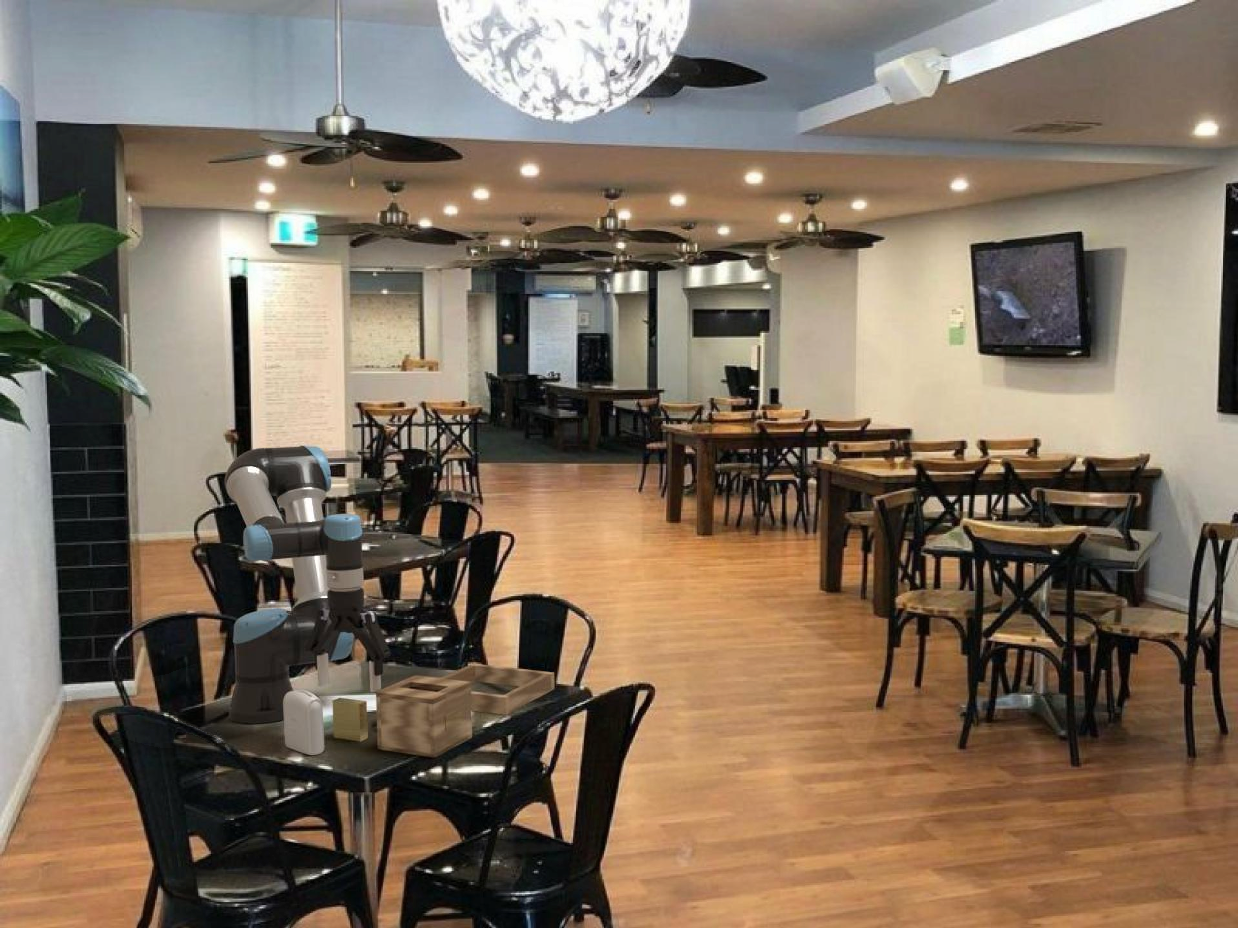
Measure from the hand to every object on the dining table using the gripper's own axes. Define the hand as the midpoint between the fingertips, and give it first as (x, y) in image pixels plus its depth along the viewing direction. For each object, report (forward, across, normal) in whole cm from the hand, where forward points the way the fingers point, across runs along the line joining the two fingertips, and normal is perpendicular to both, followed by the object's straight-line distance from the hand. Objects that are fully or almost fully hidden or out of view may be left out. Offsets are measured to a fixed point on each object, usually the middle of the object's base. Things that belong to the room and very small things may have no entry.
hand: (349, 687), depth 252 cm
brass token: (+11, 0, 0) cm, 11 cm away
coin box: (+11, +16, +3) cm, 20 cm away
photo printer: (+11, -4, -10) cm, 15 cm away
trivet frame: (+11, +11, +38) cm, 41 cm away
